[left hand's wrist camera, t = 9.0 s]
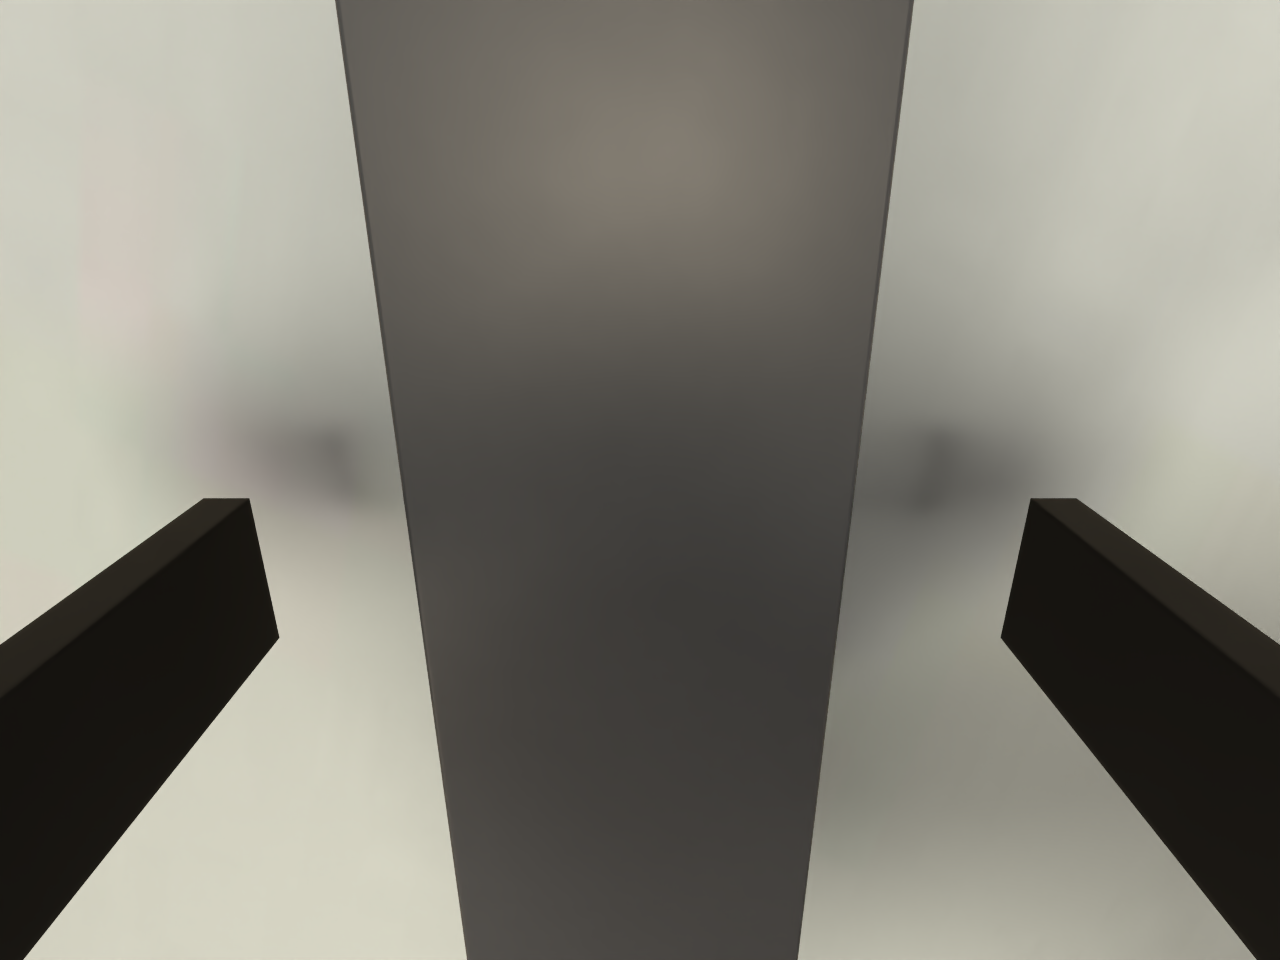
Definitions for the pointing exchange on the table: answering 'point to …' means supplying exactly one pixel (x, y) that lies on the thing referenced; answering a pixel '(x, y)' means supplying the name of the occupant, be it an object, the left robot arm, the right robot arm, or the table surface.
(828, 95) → the post
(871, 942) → the table surface
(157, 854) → the table surface
